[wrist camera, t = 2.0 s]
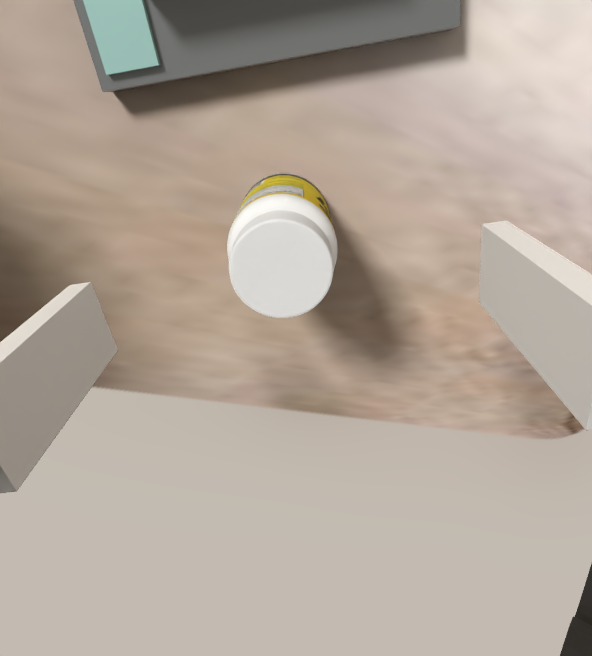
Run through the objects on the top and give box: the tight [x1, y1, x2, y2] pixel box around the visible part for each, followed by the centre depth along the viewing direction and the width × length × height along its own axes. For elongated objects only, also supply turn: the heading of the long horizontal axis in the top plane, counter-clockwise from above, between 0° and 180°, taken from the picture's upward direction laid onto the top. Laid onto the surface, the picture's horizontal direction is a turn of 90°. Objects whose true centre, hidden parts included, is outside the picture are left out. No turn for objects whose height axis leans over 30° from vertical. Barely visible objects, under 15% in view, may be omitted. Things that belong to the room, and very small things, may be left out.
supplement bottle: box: [227, 173, 338, 318], centre depth 20 cm, size 5×5×8 cm
